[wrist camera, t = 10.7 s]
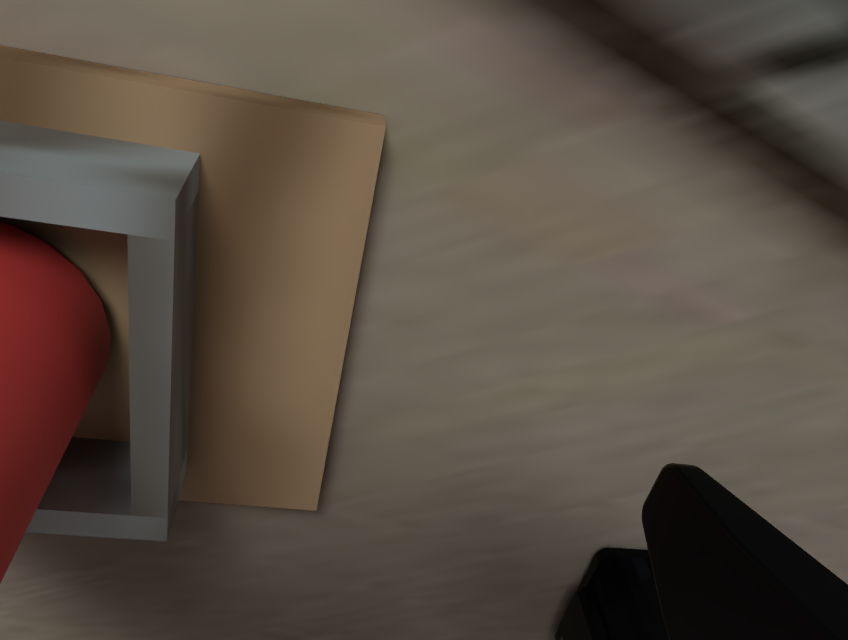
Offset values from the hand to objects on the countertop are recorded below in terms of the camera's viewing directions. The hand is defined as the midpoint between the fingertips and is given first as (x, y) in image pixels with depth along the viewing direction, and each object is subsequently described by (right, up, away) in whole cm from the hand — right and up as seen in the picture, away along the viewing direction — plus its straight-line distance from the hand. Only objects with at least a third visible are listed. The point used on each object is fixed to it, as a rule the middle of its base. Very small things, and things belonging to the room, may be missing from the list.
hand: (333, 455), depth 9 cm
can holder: (-11, +3, +11) cm, 16 cm away
